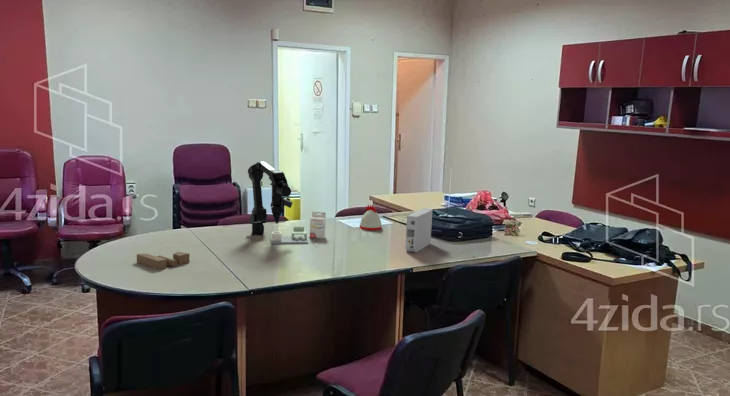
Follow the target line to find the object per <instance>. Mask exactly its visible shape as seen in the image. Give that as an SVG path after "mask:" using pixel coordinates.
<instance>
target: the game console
mask: <svg viewBox="0 0 730 396" xmlns="http://www.w3.org/2000/svg"><path fill="white" fill-rule="evenodd" d="M432 221H433V209H431V208H425V207H423V208H421V209H420V210H417V211H415V212H413V213H411V214H409V215H407V216H406V227H405V228H406V229H405V230H406V232H405V247H404V248H405V250H406V252H408V253H409V252H411V253H416V254H417V253H418V252H419V251H421V250H422V249H424V248H426V247H427V246H429V245H430V244H431V242H432V241H431V239H432V226H433V224H432Z"/></svg>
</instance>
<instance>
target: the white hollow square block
mask: <svg viewBox="0 0 730 396" xmlns="http://www.w3.org/2000/svg"><path fill="white" fill-rule="evenodd" d="M271 236H272V241H281V236H282V231H271Z"/></svg>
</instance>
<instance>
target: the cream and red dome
mask: <svg viewBox="0 0 730 396" xmlns="http://www.w3.org/2000/svg"><path fill="white" fill-rule="evenodd" d="M365 209H366V212H364V214H363V215H362V217H361V220H360V223H359V228H361V229H360V230H363V229H365V230H364V231H379V230H378V229H381V230H382V227H383V226H382V221H381V217H380V215H379V214H378V212H377V208H376V206H374V205H373V204H370V205H369V204H367V206H365Z"/></svg>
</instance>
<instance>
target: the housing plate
mask: <svg viewBox="0 0 730 396" xmlns="http://www.w3.org/2000/svg"><path fill="white" fill-rule="evenodd" d="M270 244H271V245H308V244H309V241H308V238H307V239H305V236H304V235H294V239H292V235H290V236H289V235H287V236H285V235H284V236H282V235H281V241H272V235H271V236H270Z"/></svg>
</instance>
